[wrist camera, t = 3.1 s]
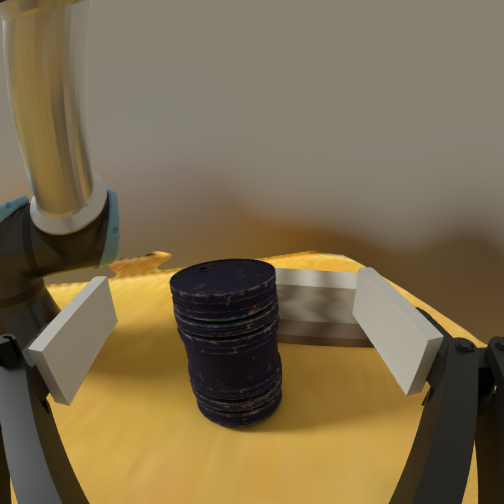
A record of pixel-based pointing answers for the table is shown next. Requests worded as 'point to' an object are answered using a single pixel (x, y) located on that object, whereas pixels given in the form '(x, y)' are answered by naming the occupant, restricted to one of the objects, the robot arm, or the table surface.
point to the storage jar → (230, 338)
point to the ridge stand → (318, 308)
